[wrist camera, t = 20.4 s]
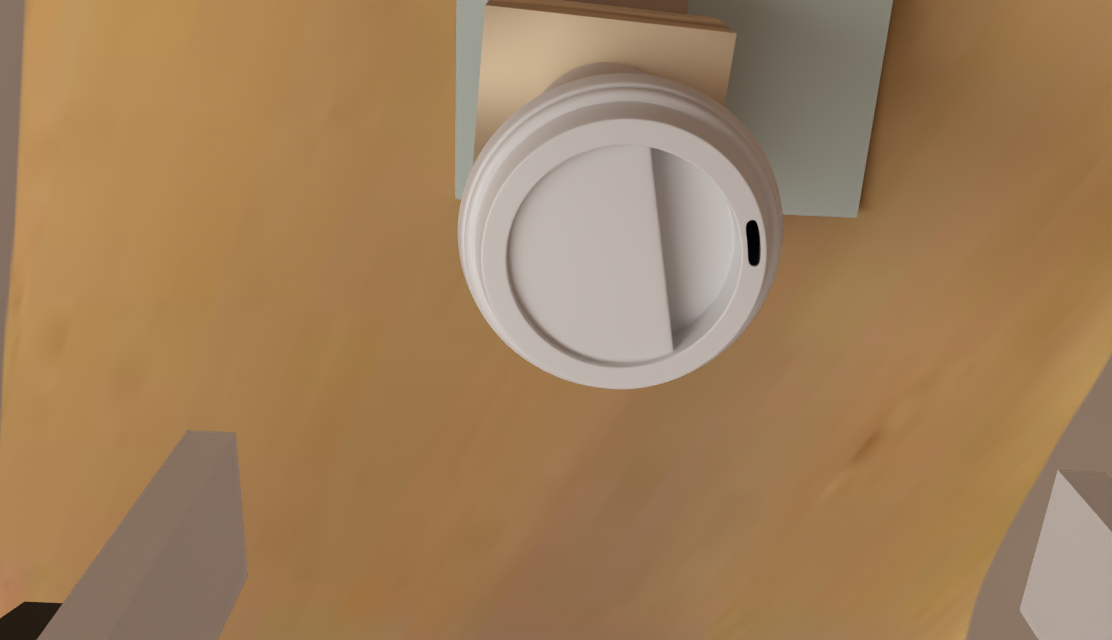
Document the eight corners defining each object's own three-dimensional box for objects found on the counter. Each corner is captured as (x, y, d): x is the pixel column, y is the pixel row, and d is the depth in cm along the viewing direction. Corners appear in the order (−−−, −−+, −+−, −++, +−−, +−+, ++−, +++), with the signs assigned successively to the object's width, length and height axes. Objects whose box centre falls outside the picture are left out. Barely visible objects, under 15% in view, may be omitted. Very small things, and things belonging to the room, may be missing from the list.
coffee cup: (682, 274, 44) (736, 445, 30) (467, 223, 43) (420, 375, 29) (751, 55, 40) (847, 135, 26) (517, -5, 40) (491, 45, 26)
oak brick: (495, -8, 45) (485, 5, 40) (716, 17, 46) (736, 33, 40) (477, 207, 49) (466, 245, 43) (681, 228, 49) (696, 269, 44)
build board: (459, -56, 51) (457, -55, 50) (891, -35, 51) (898, -34, 50) (457, 192, 56) (454, 198, 55) (851, 211, 56) (856, 217, 55)
